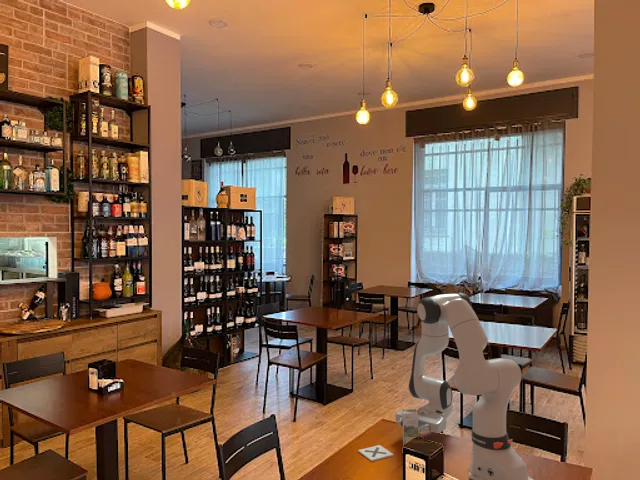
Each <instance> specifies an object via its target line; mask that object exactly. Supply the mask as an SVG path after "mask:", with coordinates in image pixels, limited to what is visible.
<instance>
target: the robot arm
mask: <svg viewBox="0 0 640 480" xmlns="http://www.w3.org/2000/svg"><path fill="white" fill-rule="evenodd" d="M416 312H417V313H416V314H417V316H418V319H419V320H420V321H421V336H420V339H419V340H418V341H417V342H416V344H415V347H414V349H413V350H414V351H413V356H412V364H411V373H410V378H409V380H408V381H409V382H408V390H409V393H410V394H411V396H412V397H413V398H415V399H420V400H426V401H428V403H427V404H424V405H422V406H420V407H419V408H418V409H416V410H417V413H418V432H425V431H426V432H427V431H428V432H432V433H435V434H439V433H442V432H443V431H445V430H447V419H448V418H449V417H450V416H451V415H452V412H453V409H454V406H453V402H452V401H453V390H452V387H451V384H450V383H449V382H448V381H446V380H442V379H439V378H434V377H431V376H427V375H425V373H424V370H425V363H426V358H427V356H431V355H436V354H437V355H438V354H439V353H441V352H443V351H444V350H445V349H447V347H448V346H449V342H450V333H451V335H452V338H453V340H454V343H455V345H456V348H457V351H458V356H459V361H458V366H457V367H456V368H455V370H454V374H453V381H454V382H453V383H454V385H455V387H456V389H457V390H458V391H459V392H460V393H461V394H463V395H465V396H466V395H469V396H480V398H479V399H478V400H477V402H475V404H474V405H473V406H472V412H471V413H472V428H471V434H470V435H471V441H472V446H471V447H472V449H471V456H470V457H471V458H470V464H469V467H468V471H469V472H468V478H469V479H471V480H534V479H533V478H532V477H531V476H529V472H528V467H527V464H526V463H525V462H524V459H523V457H520V456H519V454H518V453H517V452H516V451H515V449H514V448H513V447H512V446H511V443H513V438H511V439H510V438H509V435H508V432H507V410H508V407H509V406H508V405H509V402H510V398H511V397H512V394H513V392H514V390H515V389H516V388H517V387H518V385H520V383H521V381H522V376H523V375H522V370H521V367H520V365H519V364H518V362H516V361H515V360H513V359H511V358H510V359H509V358H504V357H503V358H501V357H499V358H492V359H485V356H484V350H485V349H486V346H488V339H489V338H488V336H487V334H486V332H485V330H484V328H483V326H482V323H481V322H480V320H479V318H478V316H477V313H476V312H475V310H474V309H473V305H472V301H471V299H470V298H469V296H468V295H467V294H466V293H463V292H455V293H446V294H444V293H442V294H437V295H433V296H426V297H423V298H420V299H419V300H418V302H417V305H416ZM449 332H450V333H449ZM394 417H395V422H396V423H397V426H399V427H403V418H402V410H400V411H397V412H395V415H394Z"/></svg>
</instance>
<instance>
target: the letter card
mask: <svg viewBox="0 0 640 480" xmlns="http://www.w3.org/2000/svg"><path fill="white" fill-rule="evenodd" d="M357 452H358V453H359V454H360V455H362V456H364V457H365V458H366V459H367V460H369V461H370V462H371V463H372V462H376V461H379V460H383V459H388V458H392V457H394V456H395V455H394V453H392V452H390V451H389V450H388V449H387V448H386V447H385V448H384V447H383V446H382V445H380V444H378V445H374V446H371V447H366V448H362V449H358V450H357Z"/></svg>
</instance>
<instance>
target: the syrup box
mask: <svg viewBox="0 0 640 480" xmlns="http://www.w3.org/2000/svg"><path fill="white" fill-rule="evenodd" d="M417 410H418V409H417V408H402V409H401V411H402V418H403V426H402V445H404V444H405V443H406V442H408V441H410V440H411V439H413V438H416V437H418V438H419V431H418V413H417Z"/></svg>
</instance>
